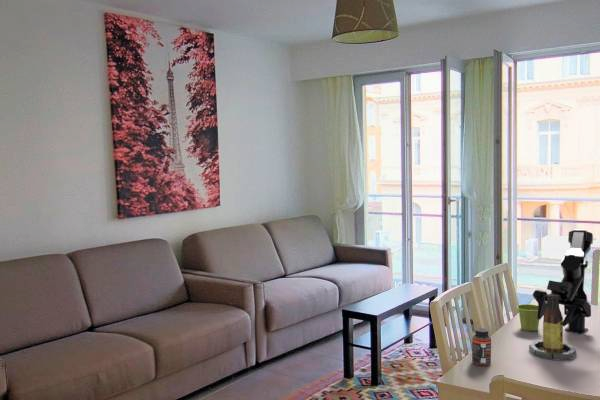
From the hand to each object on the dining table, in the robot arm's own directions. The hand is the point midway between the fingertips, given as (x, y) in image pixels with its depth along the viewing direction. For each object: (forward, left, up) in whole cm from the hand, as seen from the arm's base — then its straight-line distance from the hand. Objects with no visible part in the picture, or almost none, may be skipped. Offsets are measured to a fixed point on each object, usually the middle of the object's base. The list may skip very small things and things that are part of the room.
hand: (550, 322), depth 198 cm
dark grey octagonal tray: (-1, 0, -11) cm, 11 cm away
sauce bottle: (-2, 0, -11) cm, 11 cm away
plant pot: (-21, -17, -11) cm, 29 cm away
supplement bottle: (+24, -13, -11) cm, 29 cm away
